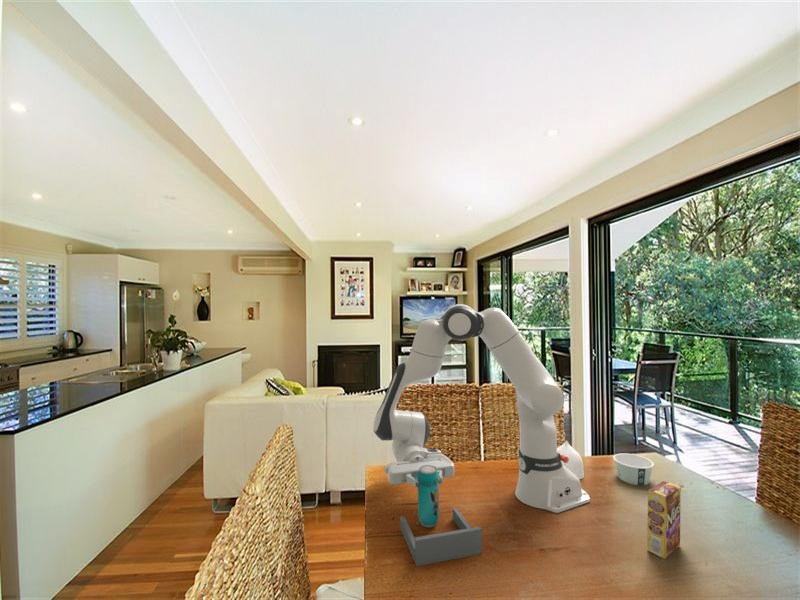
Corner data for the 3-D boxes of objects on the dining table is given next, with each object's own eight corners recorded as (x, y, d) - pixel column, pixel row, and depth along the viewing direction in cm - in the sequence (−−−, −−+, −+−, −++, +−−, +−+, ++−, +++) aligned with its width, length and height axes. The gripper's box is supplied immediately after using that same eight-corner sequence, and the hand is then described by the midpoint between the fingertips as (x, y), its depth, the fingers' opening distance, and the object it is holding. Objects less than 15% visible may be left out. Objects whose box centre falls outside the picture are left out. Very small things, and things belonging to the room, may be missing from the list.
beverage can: (432, 531, 101) (431, 474, 102) (414, 524, 105) (413, 469, 105) (442, 521, 106) (442, 467, 107) (425, 515, 109) (424, 463, 110)
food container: (607, 470, 138) (607, 452, 138) (643, 472, 136) (643, 454, 136) (622, 486, 126) (622, 466, 126) (661, 488, 124) (661, 468, 124)
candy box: (666, 560, 90) (665, 496, 90) (646, 551, 93) (645, 489, 93) (682, 547, 94) (681, 486, 95) (662, 538, 98) (661, 479, 98)
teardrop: (563, 482, 129) (563, 447, 129) (544, 468, 140) (543, 436, 140) (591, 478, 132) (590, 443, 132) (569, 465, 142) (569, 433, 142)
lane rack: (456, 518, 108) (456, 497, 108) (481, 553, 93) (481, 529, 93) (400, 527, 104) (399, 505, 104) (416, 566, 88) (416, 540, 88)
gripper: (382, 455, 116) (392, 476, 103) (444, 448, 121) (461, 467, 108) (382, 476, 116) (392, 499, 103) (444, 468, 121) (462, 489, 108)
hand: (428, 482), depth 105 cm, fingers closed on beverage can, 6 cm apart
